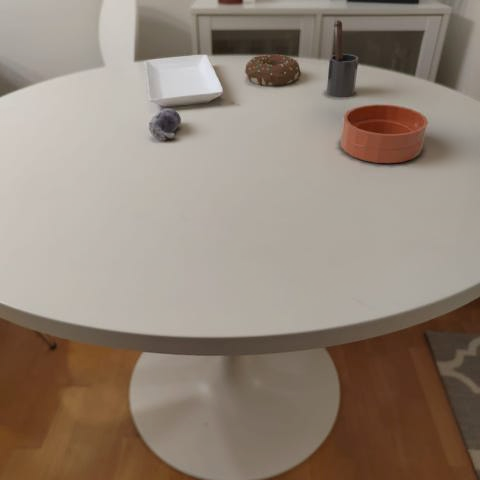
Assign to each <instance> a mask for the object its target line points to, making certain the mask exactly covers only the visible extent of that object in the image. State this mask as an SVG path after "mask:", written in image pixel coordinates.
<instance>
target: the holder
mask: <svg viewBox="0 0 480 480" xmlns="http://www.w3.org/2000/svg"><path fill="white" fill-rule="evenodd" d="M358 67H359V57H358V56H357V55H355V54H349V53H343V61H336V60H335V54H333V55H331V56H329V59H328V68H327V69H328V71H327V79H326V80H327V81H326V82H327V83H326V94H327V95H328V96H329V97H332V98H333V97H334V98H348V97H352V96H353V95H354V94H355V89H356V82H357V75H358Z"/></svg>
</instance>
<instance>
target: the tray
mask: <svg viewBox="0 0 480 480" xmlns="http://www.w3.org/2000/svg"><path fill="white" fill-rule="evenodd" d="M144 67H145V79H146V86H147V99H148V101H149V102H150V103H152V104H155V105H159V106H161V107H163V108H171V107H179V106H188V105H189V106H191V105H200V104H201V105H202V104H209V103H210V102H211V101H212V100H215V99H217V98H219V97H220V96H222V95H223V94H224V88H223V85H222V83H221V81H220V79H219V77H218V76H219V75H218V74H217V72H216V70H215V68H214V66H213V64H212V62H211V60H210V58H209V56H208V54H192V55H181V56H172V57H163V58H162V57H161V58H154V59H147V60H145V61H144Z"/></svg>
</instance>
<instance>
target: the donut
mask: <svg viewBox="0 0 480 480" xmlns="http://www.w3.org/2000/svg"><path fill="white" fill-rule="evenodd" d="M244 72H245V74H246V75H245V76H246V78H247V80H249V82H251V83H252V84H254V85H258V86H264V87H278V86H285V85H289V84H291V83H293V82H295V81H296V80H298V79H299V78H300V77H301V74H302V73H301V69H300V64H299V62H298V60H297V59H295V58H293V57H291V56H286V55H282V54H277V53H275V54H270V53H268V54H265V55H256V56H253V57H251V59H250V60H249V61H247V63H246V64H245V69H244Z"/></svg>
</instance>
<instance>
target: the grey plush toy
mask: <svg viewBox="0 0 480 480" xmlns="http://www.w3.org/2000/svg"><path fill="white" fill-rule="evenodd" d="M181 123H182V117H181V115H180V113H178V111H177V110H175V109H173V108H171V107H164V108H163V109H161V110H159V111H158V112H157V113H156V114H155V115H154V116H153V117H152V119H151V120H150V122H149V123H148V125H149V126H148V130H149V132H150V134H151V135H152V136H153V137H154V138H155V139H157V140H159V141H161V142H163V141H166V140H168V138H169V139H170V140H173V139H174V138H176V134H175V131H176V130H177V129H178V127H179V126H180V125H181Z"/></svg>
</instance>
